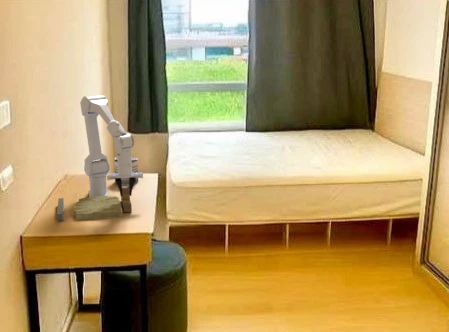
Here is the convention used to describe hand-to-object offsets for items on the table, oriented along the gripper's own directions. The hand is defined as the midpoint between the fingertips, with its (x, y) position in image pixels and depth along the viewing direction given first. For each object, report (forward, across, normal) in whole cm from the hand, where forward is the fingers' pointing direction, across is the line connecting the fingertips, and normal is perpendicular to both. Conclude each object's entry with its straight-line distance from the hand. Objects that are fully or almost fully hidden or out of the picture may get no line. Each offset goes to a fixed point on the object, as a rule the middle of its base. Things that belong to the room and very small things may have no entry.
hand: (125, 195), depth 231 cm
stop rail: (+5, -26, -2) cm, 27 cm away
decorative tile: (+6, -12, -2) cm, 13 cm away
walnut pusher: (+4, 0, 0) cm, 4 cm away
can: (+5, +3, +37) cm, 37 cm away
